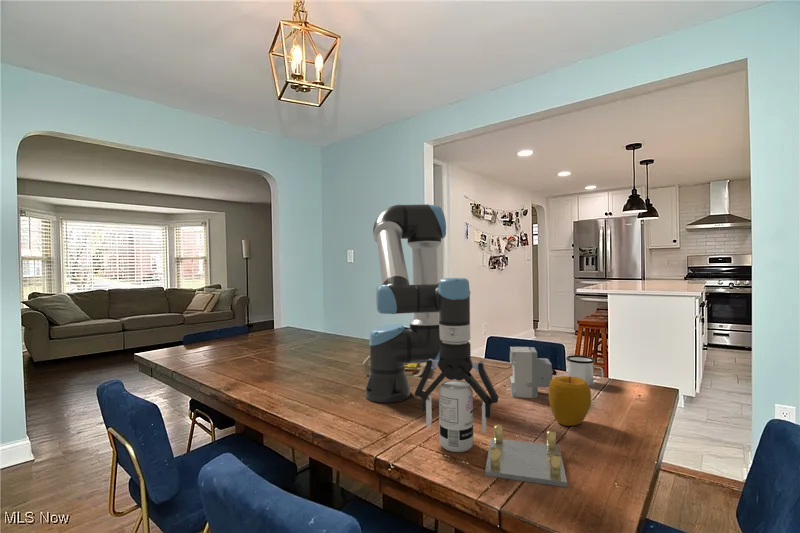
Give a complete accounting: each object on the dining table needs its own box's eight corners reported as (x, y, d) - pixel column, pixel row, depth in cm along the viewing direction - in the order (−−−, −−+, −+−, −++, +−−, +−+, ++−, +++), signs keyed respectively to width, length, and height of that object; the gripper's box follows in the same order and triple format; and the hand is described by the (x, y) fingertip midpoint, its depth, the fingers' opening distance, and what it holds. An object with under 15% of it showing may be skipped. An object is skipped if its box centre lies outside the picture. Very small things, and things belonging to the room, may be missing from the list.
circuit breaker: (557, 399, 128) (557, 352, 128) (511, 396, 131) (511, 351, 131) (553, 391, 135) (553, 347, 135) (510, 389, 138) (509, 346, 138)
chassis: (485, 475, 84) (484, 452, 84) (490, 441, 99) (490, 422, 99) (567, 487, 79) (566, 462, 79) (559, 449, 94) (559, 429, 94)
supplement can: (436, 438, 101) (435, 380, 101) (468, 437, 102) (467, 379, 102) (442, 454, 93) (442, 390, 93) (477, 452, 94) (476, 389, 94)
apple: (588, 435, 102) (588, 385, 102) (544, 426, 108) (544, 379, 107) (593, 420, 111) (593, 374, 111) (553, 412, 117) (552, 369, 117)
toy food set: (362, 376, 158) (361, 357, 158) (371, 364, 176) (371, 347, 176) (425, 378, 154) (425, 358, 154) (429, 365, 172) (428, 348, 172)
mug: (563, 384, 143) (563, 359, 143) (569, 377, 150) (569, 354, 150) (600, 390, 136) (600, 364, 136) (604, 383, 144) (604, 358, 143)
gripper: (401, 342, 97) (403, 428, 97) (507, 346, 90) (508, 439, 90) (409, 336, 104) (411, 416, 105) (508, 340, 97) (509, 426, 97)
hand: (456, 427), depth 97 cm, fingers open, 13 cm apart
